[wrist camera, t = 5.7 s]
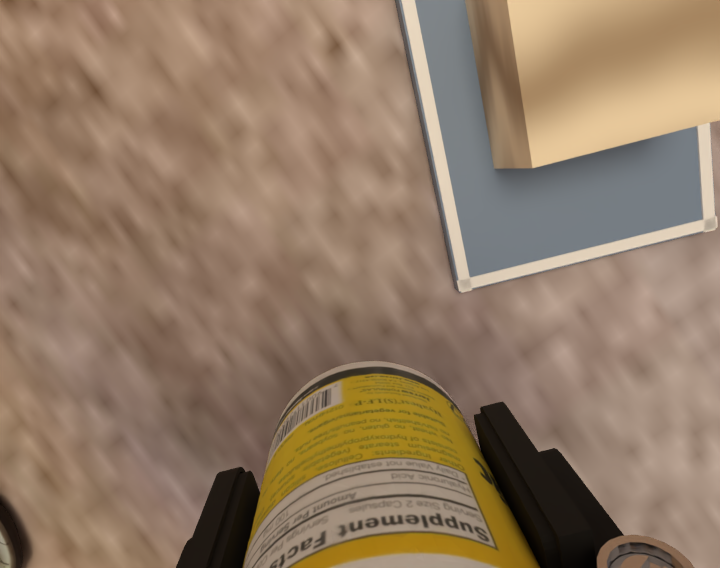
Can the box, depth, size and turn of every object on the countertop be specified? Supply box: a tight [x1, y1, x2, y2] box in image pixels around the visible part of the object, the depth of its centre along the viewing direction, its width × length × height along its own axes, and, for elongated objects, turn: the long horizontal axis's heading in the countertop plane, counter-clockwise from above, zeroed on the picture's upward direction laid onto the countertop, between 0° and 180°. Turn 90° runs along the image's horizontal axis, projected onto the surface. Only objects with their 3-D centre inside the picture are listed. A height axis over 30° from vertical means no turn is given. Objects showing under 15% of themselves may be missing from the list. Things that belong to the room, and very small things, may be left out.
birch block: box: [465, 0, 720, 169], centre depth 19 cm, size 8×8×5 cm
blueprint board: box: [395, 0, 717, 293], centre depth 23 cm, size 18×14×1 cm
